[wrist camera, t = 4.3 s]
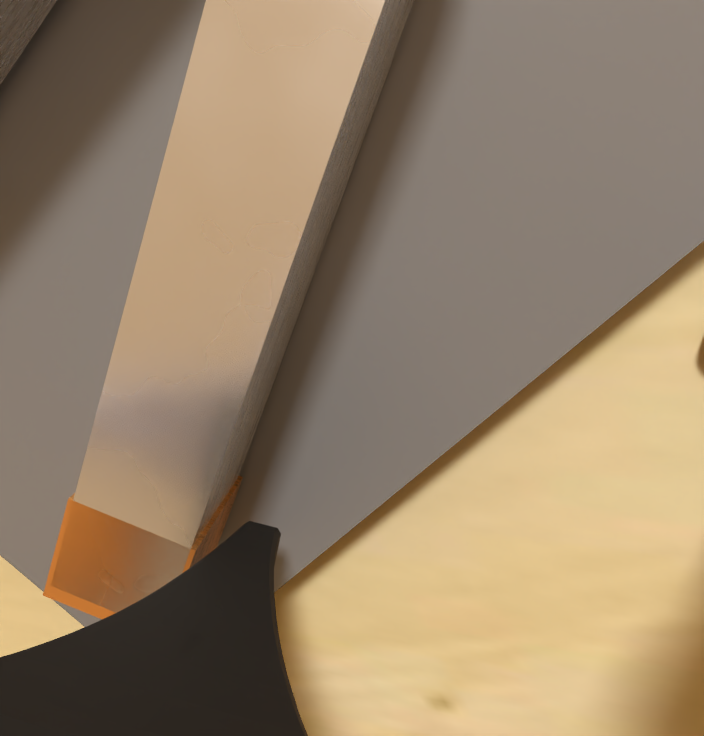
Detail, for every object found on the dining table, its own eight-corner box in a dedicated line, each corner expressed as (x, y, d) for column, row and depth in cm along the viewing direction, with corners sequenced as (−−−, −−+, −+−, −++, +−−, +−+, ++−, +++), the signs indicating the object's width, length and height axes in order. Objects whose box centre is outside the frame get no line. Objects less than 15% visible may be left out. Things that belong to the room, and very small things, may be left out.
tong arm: (354, -270, 9) (327, -493, 6) (498, -210, 9) (538, -403, 6) (119, 516, 14) (43, 595, 11) (214, 554, 14) (162, 644, 11)
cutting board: (949, 9, 10) (1016, -16, 9) (174, 656, 17) (157, 688, 16) (178, -1055, 8) (139, -1267, 7) (-386, 172, 14) (-455, 169, 13)
